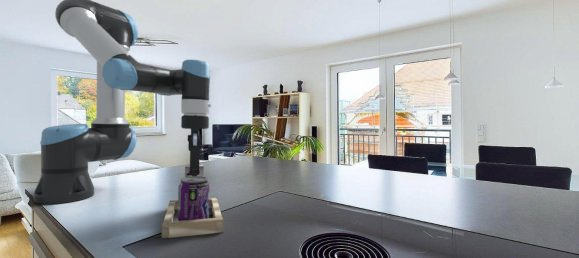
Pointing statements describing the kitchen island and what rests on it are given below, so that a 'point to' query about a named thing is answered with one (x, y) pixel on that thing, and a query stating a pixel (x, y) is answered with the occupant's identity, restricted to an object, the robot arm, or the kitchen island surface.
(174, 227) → the can sled
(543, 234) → the kitchen island surface
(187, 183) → the beverage can
